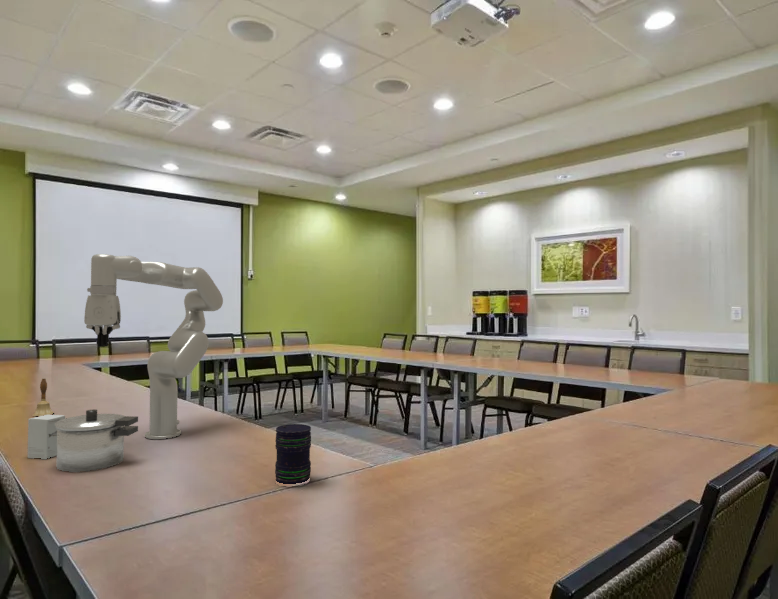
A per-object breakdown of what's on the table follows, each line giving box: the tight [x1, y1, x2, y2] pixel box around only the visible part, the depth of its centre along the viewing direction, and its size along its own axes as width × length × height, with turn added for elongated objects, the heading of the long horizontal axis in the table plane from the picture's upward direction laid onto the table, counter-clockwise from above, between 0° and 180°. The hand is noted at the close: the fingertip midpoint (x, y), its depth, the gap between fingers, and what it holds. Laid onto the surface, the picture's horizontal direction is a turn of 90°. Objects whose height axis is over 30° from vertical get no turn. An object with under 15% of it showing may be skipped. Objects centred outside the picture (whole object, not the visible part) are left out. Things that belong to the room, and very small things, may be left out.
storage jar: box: [274, 423, 312, 484], centre depth 145 cm, size 10×10×15 cm
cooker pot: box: [55, 425, 139, 473], centre depth 161 cm, size 19×22×12 cm
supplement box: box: [27, 414, 66, 460], centre depth 168 cm, size 7×7×13 cm
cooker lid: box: [55, 409, 139, 431], centre depth 161 cm, size 19×22×4 cm
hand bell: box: [32, 378, 55, 417], centre depth 229 cm, size 8×8×16 cm
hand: (102, 346), depth 173 cm, fingers closed
